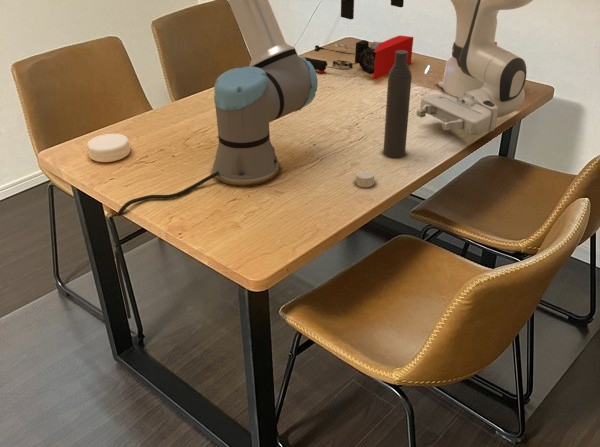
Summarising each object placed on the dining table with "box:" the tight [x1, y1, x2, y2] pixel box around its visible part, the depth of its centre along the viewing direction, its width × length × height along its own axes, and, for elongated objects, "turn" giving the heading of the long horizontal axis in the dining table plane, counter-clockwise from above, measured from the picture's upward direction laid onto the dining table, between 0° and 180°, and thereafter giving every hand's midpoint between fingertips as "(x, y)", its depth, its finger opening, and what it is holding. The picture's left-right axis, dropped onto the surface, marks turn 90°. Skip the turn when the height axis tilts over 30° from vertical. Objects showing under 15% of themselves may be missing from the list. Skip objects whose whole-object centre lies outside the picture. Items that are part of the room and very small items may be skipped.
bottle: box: [382, 50, 413, 159], centre depth 146 cm, size 5×5×25 cm
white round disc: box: [86, 133, 131, 163], centre depth 153 cm, size 10×10×4 cm
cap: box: [355, 169, 375, 188], centre depth 139 cm, size 4×4×2 cm
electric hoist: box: [302, 35, 414, 81], centre depth 208 cm, size 10×27×30 cm
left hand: (372, 12), depth 120 cm, fingers open, 13 cm apart
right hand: (430, 119), depth 155 cm, fingers open, 8 cm apart
